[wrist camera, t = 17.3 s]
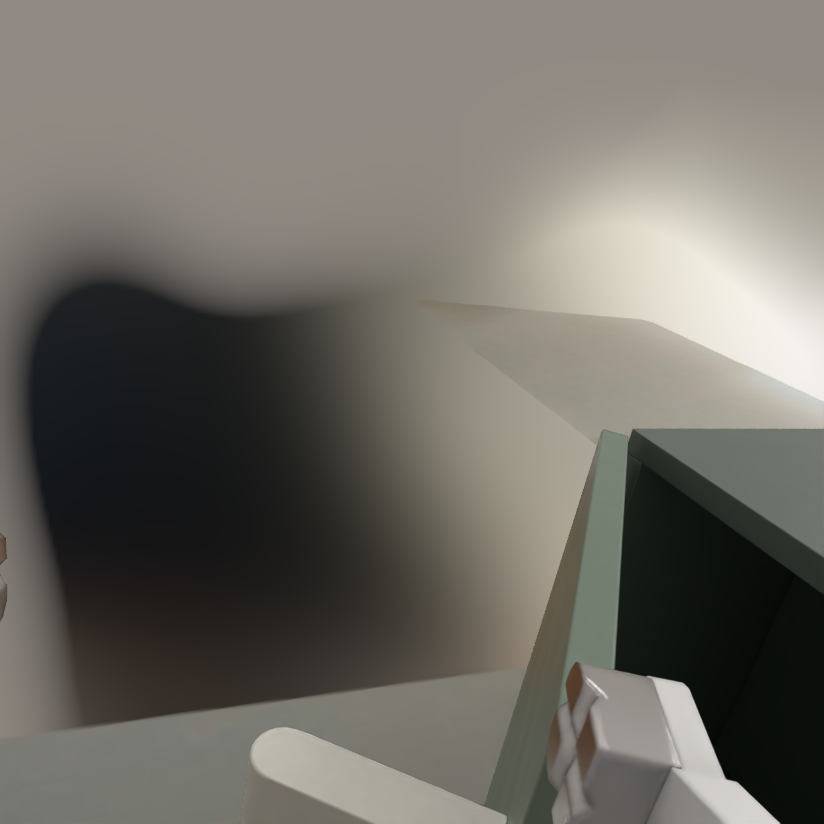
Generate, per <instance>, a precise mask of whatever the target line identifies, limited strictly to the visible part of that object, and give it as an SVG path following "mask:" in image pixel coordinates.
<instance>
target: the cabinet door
mask: <svg viewBox="0 0 824 824" xmlns="http://www.w3.org/2000/svg"><path fill="white" fill-rule="evenodd" d="M627 452H628V436H626V435H623V434H619V433H616V432H612V431H609V430H602V432H601V435H600V438H599V441H598V444H597V448H596V451H595V454H594V457H593V460H592V464H591V467H590V470H589V473H588V476H587V479H586V483H585V486H584V489H583V492H582V495H581V499H580V502H579V505H578V508H577V511H576V515H575V518H574V521H573V524H572V527H571V531H570V534H569V537H568V540H567V543H566V546H565V550H564V553H563V556H562V559H561V563H560V566H559V569H558V572H557V575H556V578H555V581H554V585H553V588H552V591H551V594H550V597H549V601H548V604H547V607H546V610H545V614H544V617H543V620H542V623H541V627H540V629H539V632H538V636H537V639H536V642H535V646H534V648H533V652H532V655H531V658H530V661H529V664H528V668H527V671H526V674H525V677H524V680H523V683H522V687H521V690H520V693H519V696H518V699H517V703H516V706H515V709H514V712H513V715H512V719H511V722H510V725H509V728H508V731H507V734H506V738H505V741H504V744H503V747H502V750H501V754H500V757H499V760H498V763H497V766H496V770H495V773H494V776H493V779H492V782H491V785H490V789H489V792H488V795H487V798H486V802H485V806H482V805H479V804H477V803H474V802H472V801H470V800H467V799H465V798H462V797H460V796H457V795H455V794H453V793H450V792H448V791H445V790H443V789H441V788H438V787H436V786H433V785H431V784H428V783H426V782H424V781H421V780H419V779H416V778H414V777H411V776H409V775H407V774H404V773H402V772H399V771H397V770H395V769H392V768H390V767H387V766H385V765H382V764H380V763H378V762H375V761H373V760H370V759H368V758H366V757H363V756H361V755H358V754H356V753H353V752H351V751H349V750H346V749H344V748H341V747H339V746H337V745H334V744H332V743H329V742H327V741H324V740H322V739H320V738H317V737H315V736H312V735H310V734H308V733H305V732H303V731H300V730H296V729H292V728H285V727H281V728H274V729H271V730H268V731H266V732H265V733H263V734H262V735H260V736H259V737H258V738H257V739H256V741H255V742H254V743H253V745H252V747H251V750H250V755H249V763H248V770H247V778H246V785H245V792H244V800H243V807H242V815H241V822H240V824H553V817H552V807H553V804H554V802H555V799H556V796H557V793H558V792H557V791H556V789H555V788H554V787H553V786H552V784H551V783H550V782H549V780H548V772H547V744H548V738H549V731H550V726H551V723H552V720H553V717H554V714H555V711H556V708H558V707H559V706H561V705H562V704H564V703H565V702H567V701H568V699H567V693H566V686H565V683H566V680H567V677H568V675H569V672H570V669H571V668H572V666H573V665H574V663H575V662H576V661H577V662H581V663H586V664H590V665H595V666H599V667H604V668H608V669H613V670H615V660H616V642H617V625H618V608H619V591H620V573H621V556H622V539H623V521H624V504H625V487H626V470H627Z"/></svg>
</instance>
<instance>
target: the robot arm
mask: <svg viewBox="0 0 824 824" xmlns="http://www.w3.org/2000/svg"><path fill="white" fill-rule="evenodd" d="M6 558H7V554H6V538H5V537H4V536H3V535H1V534H0V565H1V564H2V563H3V562H4V561H5V559H6ZM6 602H7V584H6V583H5V582H4V580H3V578H2V577H1V575H0V621H1V619H2V617H3V614H4V610H5V606H6ZM565 686H566V693H567V699H568V701H567V702H565V703H564V704H562V705H561V706H559V707H558V708H556V711H555V714H554V717H553V720H552V723H551V726H550V731H549V738H548V744H547V772H548V780H549V782H550V783H551V784H552V786H553V787H554V788H555V789H556V791H557V792H558V793H557V796H556V799H555V802H554V804H553V807H552V817H553V824H780V823H779V822H778V821H777V820H776V819H775V818H774V817H773V816H772V815H771V814H770V813H769V812H768V811H767V810H766V809H765V808H764V807H763V806H761V805H760V804H759V803H758V802H757V801H756V800H755V799H754V798H753V797H752V796H751V795H750V794H749V793H748V792H747V791H746V790H745V789H744V788H743V787H742V786H741V785H740V784H739V783H738V782H734V781H730V780H726V779H725V776H724V774H723V771H722V769H721V766H720V764H719V761H718V759H717V756H716V754H715V751H714V749H713V747H712V744H711V742H710V739H709V737H708V734H707V732H706V729H705V727H704V724H703V722H702V719H701V717H700V714H699V712H698V710H697V707H696V705H695V702H694V700H693V697H692V695H691V692H690V690H689V688H688V687H687V686H686V685H685V684H684V683H682V682H677V681H672V680H667V679H661V678H656V677H651V676H647V677H645V676H640V675H636V674H631V673H627V672H622V671H618V670H613V669H608V668H604V667H599V666H595V665H590V664H586V663H581V662H577V661H576V662H575V663H574V665H573V666H572V668H571V669H570V672H569V675H568V677H567V680H566V683H565Z"/></svg>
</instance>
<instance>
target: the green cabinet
mask: <svg viewBox="0 0 824 824" xmlns="http://www.w3.org/2000/svg"><path fill="white" fill-rule="evenodd" d="M615 670H618V671H622V672H627V673H631V674H636V675H640V676H645V677H647V676H651V677H656V678H661V679H667V680H672V681H677V682H682V683H684V684H685V685H686V686H687V687H688V688H689V690H690V692H691V695H692V697H693V700H694V702H695V705H696V707H697V710H698V712H699V714H700V717H701V719H702V722H703V724H704V727H705V729H706V732H707V734H708V737H709V739H710V742H711V744H712V747H713V749H714V751H715V754H716V756H717V759H718V761H719V764H720V766H721V769H722V771H723V774H724V776H725V779H726V780H730V781H734V782H738V783H739V784H740V785H741V786H742V787H743V788H744V789H745V790H746V791H747V792H748V793H749V794H750V795H751V796H752V797H753V798H754V799H755V800H756V801H757V802H758V803H759V804H760V805H761V806H763V807H764V808H765V809H766V810H767V811H768V812H769V813H770V814H771V815H772V816H773V817H774V818H775V819H776V820H777V821H778V822H779V823H780V824H824V429H633V430H632V433H631V436H630V439H629V442H628V452H627V470H626V487H625V504H624V521H623V539H622V556H621V573H620V591H619V608H618V625H617V642H616V660H615Z"/></svg>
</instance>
